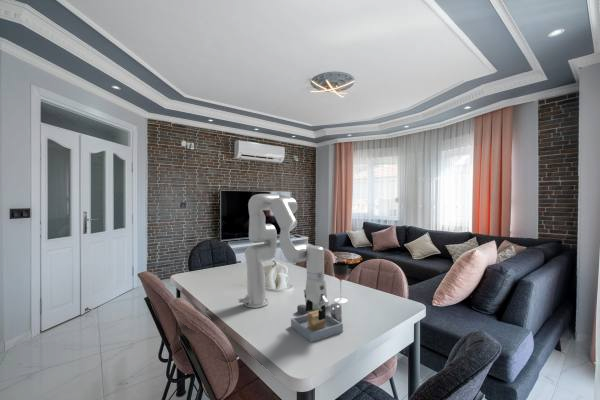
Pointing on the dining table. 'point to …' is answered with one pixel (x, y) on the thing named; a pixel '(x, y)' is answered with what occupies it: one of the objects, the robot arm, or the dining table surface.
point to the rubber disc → (301, 309)
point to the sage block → (316, 306)
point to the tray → (330, 329)
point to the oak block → (315, 321)
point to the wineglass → (340, 277)
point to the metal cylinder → (336, 312)
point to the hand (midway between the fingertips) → (315, 314)
